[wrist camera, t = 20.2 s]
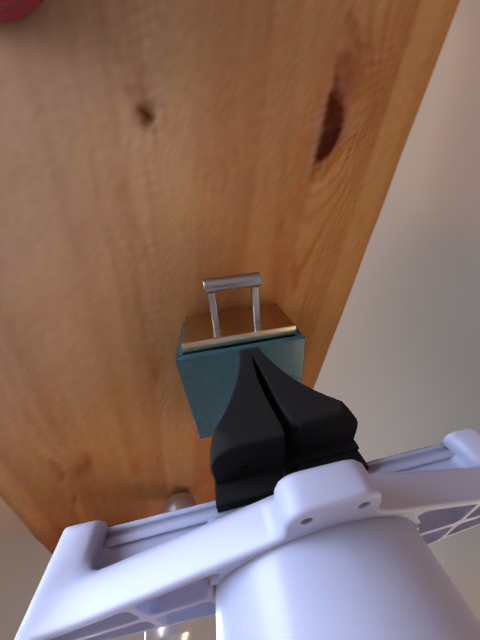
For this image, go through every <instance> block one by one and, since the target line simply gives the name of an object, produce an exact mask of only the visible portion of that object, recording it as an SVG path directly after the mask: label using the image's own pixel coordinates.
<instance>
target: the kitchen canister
mask: <svg viewBox="0 0 480 640" xmlns="http://www.w3.org/2000/svg"><path fill="white" fill-rule="evenodd" d="M41 2H42V0H0V24H1V23H7V22H12V21H15V20H18V19H20V18H22V17H24V16H26V15H27V14H29V13H30V12H32V11H33V10H34V9H35V8H36V7H37V6H38V5H39V4H40V3H41Z"/></svg>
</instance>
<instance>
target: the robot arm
mask: <svg viewBox="0 0 480 640" xmlns="http://www.w3.org/2000/svg"><path fill="white" fill-rule="evenodd" d="M357 424H358V422H357V419H356V418H355V416H354V415H353V414H352V412H351V411H350V410H349V409H348V408H347V407H346V405H345V404H344V403H343V402H342V401H339V400H336V399H334V398H331V397H329V396H326V395H324V394H322V393H319V392H317V391H314V390H313V389H311V388H309V387H307V386H305V385H303V384H302V383H300V382H298V381H296V380H295V379H293V378H292V377H290V376H289V375H287V374H286V373H285V372H283V371H282V370H281V369H280V368H278V367H277V366H276V365H275V364H274V363H273V362H272V361H271V360H269V359H268V358H267V357H266V356H265V355H264V354H263V353H262V351H261V350H260V349H259V348H258V347H255V348H249V349H243V350H240V351H239V370H238V375H237V380H236V384H235V387H234V390H233V393H232V396H231V398H230V401H229V403H228V405H227V407H226V410H225V412H224V414H223V416H222V417H221V419H220V421H219V423H218V424H217V426H216V428H215V431H214V435H213V439H212V444H211V450H210V465H211V472H212V475H213V479H214V482H215V494H216V500H215V501H211V502H207V503H203V504H199V505H195V506H191V507H187V508H183V509H179V510H175V511H172V512H168V513H164V514H160V515H156V516H152V517H148V518H144V519H140V520H136V521H132V522H128V523H124V524H120V525H116V526H112V527H108V526H107V524H106V523H105V522H103V521H99V520H96V521H90V522H86V523H82V524H78V525H74V526H70V527H67V528H66V529H64V531H63V533H62V535H61V538H60V540H59V542H58V544H57V546H56V549H55V551H54V553H53V555H52V557H51V560H50V562H49V564H48V566H47V568H46V571H45V573H44V575H43V577H42V579H41V582H40V584H39V586H38V588H37V590H36V593H35V595H34V597H33V599H32V602H31V603H30V606H29V608H28V610H27V612H26V614H25V617H24V619H23V621H22V623H21V625H20V628H19V630H18V632H17V634H16V637H15V639H14V640H113V639H117V638H120V637H125V636H128V635H132V634H136V633H141V632H145V631H149V630H153V629H157V628H161V627H166V626H170V625H174V624H178V623H182V622H186V621H190V620H195V619H199V618H203V617H207V616H211V615H215V614H216V633H217V640H480V620H479V619H478V618H477V616H476V615H475V613H474V612H473V610H472V609H471V607H470V606H469V604H468V603H467V602H466V600H465V599H464V597H463V596H462V595H461V593H460V591H459V590H458V589H457V587H456V586H455V584H454V583H453V582H452V580H451V579H450V577H449V576H448V574H447V573H446V571H445V570H444V568H443V567H442V566H441V564H440V563H439V561H438V560H437V558H436V557H435V556H434V554H433V553H432V551H431V550H430V548H429V547H428V545H429V544H431V543H433V542H436V541H439V540H441V539H444V538H446V537H449V536H451V535H454V534H456V533H459V532H462V531H464V530H466V529H469V528H472V527H475V526H477V525H480V434H479V433H478V432H477V431H476V430H474V429H473V428H466V429H462V430H458V431H454V432H451V433H449V434H447V435H446V436H445V438H444V439H443V442H442V443H440V444H436V445H432V446H428V447H424V448H420V449H416V450H412V451H409V452H404V453H400V454H397V455H393V456H389V457H385V458H381V459H377V460H373V461H369V462H365V460H364V459H363V458H362V456H361V454H360V453H359V452H358V449H359V447H358V445H357V444H356V442H355V441H354V436H355V433H356V430H357Z"/></svg>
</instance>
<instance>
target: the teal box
mask: <svg viewBox="0 0 480 640" xmlns="http://www.w3.org/2000/svg"><path fill="white" fill-rule="evenodd" d="M184 326H185V322H183V327H182V331H181V336H180V341H179V346H178V351H177V355H176V360H175V361H176V364H177V367H178V370H179V374H180V377H181V380H182V383H183V387H184V390H185V393H186V396H187V399H188V403H189V406H190V409H191V412H192V416H193V419H194V422H195V425H196V428H197V432H198V435H199V438H205V437H210V436H213V435H214V431H215V428H216V426H217V424H218V423H219V421H220V419H221V417H222V416H223V414H224V412H225V410H226V407H227V405H228V403H229V401H230V398H231V396H232V393H233V390H234V387H235V384H236V380H237V375H238V370H239V351H240V350H243V349H249V348H255V347H258V348H259V349H260V350H261V351H262V353H263V354H264V355H265V356H266V357H267V358H268V359H269V360H271V361H272V362H273V363H274V364H275V365H276V366H277V367H278V368H280V369H281V370H282V371H283V372H285V373H286V374H287V375H289V376H290V377H292V378H293V379H295V380H296V381H298V382H300V383H302V372H303V361H304V349H305V337H304V336H303V335H302V334H301V333H300V331H299V330H298V329H297V328H296V332H295V336H292V337H286V338H281V339H276V340H270V341H264V342H258V343H252V344H246V345H240V346H234V347H228V348H223V349H217V350H211V351H205V352H199V353H192V354H186V355H184V353H183V350H182V346H181V342H182V337H183V331H184Z"/></svg>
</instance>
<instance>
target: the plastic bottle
mask: <svg viewBox="0 0 480 640" xmlns="http://www.w3.org/2000/svg"><path fill="white" fill-rule="evenodd" d="M195 505H196V500H195V498H194V496H193V495H192V494H190V493H178V494H175V495H172V496H170V497H169V498H168V499H167V500H166V502H165V504H164V506H163V510H162V513H161V514H164V513H168V512H172V511H175V510H179V509H183V508H187V507H191V506H195ZM193 624H194V620H190V621H186V622H182V623H178V624H174V625H170V626H166V627H161V628H157V629H153V630H149V631H145V640H190V638H191V635H192V630H193Z"/></svg>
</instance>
